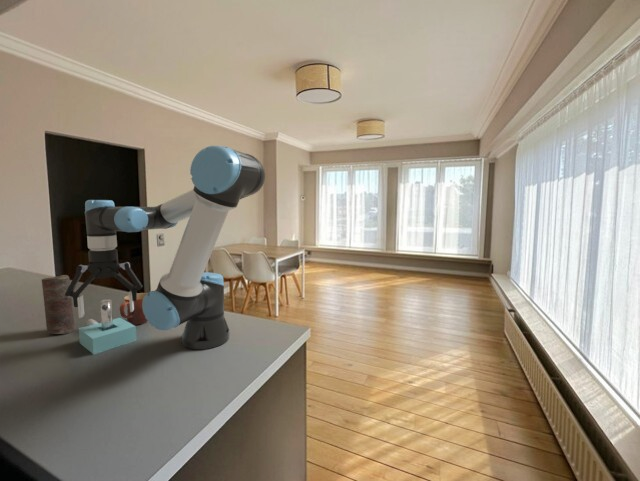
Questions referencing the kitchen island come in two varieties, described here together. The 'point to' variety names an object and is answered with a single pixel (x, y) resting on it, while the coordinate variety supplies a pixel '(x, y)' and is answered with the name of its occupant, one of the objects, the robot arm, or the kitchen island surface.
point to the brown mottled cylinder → (58, 305)
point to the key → (106, 314)
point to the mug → (137, 314)
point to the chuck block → (106, 335)
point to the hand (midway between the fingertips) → (107, 313)
